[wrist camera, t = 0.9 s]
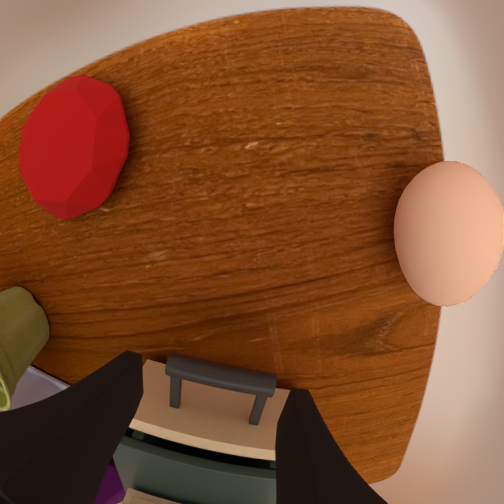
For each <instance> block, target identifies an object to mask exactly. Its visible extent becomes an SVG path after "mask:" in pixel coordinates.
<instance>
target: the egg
mask: <svg viewBox="0 0 504 504" xmlns="http://www.w3.org/2000/svg"><path fill="white" fill-rule="evenodd" d="M394 242H395V250H396V253H397V257H398V260H399V263H400V267H401V270H402V272H403V274H404V276H405V278H406V280H407V282H408V284H409V285H410V286H411V288H412V289H413V291H414V292H415V293H416V294H418V295H419V296H420V297H421V298H423V299H424V300H425V301H427V302H429V303H431V304H434V305H438V306H452V305H456V304H459V303H462V302H465V301H467V300H468V299H470V298H471V297H472V296H474V295H475V294H476V293H477V292H478V291H479V290H480V289H482V288H483V287H484V285H485V284H486V283H487V282H488V281H489V279H490V278H491V277H492V275H493V273H494V272H495V270H496V268H497V266H498V264H499V261H500V259H501V256H502V252H503V248H504V211H503V207H502V205H501V202H500V199H499V197H498V195H497V193H496V191H495V190H494V188H493V187H492V186H491V184H490V183H489V181H488V180H487V179H486V178H485V177H484V176H483V175H482V174H481V173H480V172H479V171H477V170H476V169H474V168H473V167H471V166H469V165H466V164H464V163H460V162H452V161H445V162H439V163H436V164H434V165H431V166H429V167H427V168H425V169H424V170H422V171H421V172H420V173H419V174H417V175H416V176H415V177H414V178H413V179H412V180H411V182H410V183H409V184H408V185H407V186H406V187H405V189H404V191H403V193H402V195H401V197H400V199H399V202H398V205H397V209H396V214H395V218H394Z"/></svg>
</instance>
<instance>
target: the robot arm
mask: <svg viewBox="0 0 504 504" xmlns="http://www.w3.org/2000/svg"><path fill="white" fill-rule="evenodd" d="M143 393H144V389H143V368H142V355H141V354H138V353H135V352H131V351H128V350H126V351H125V352H123V353H122V354H120V355H119V356H117V357H116V358H114V359H113V360H111V361H110V362H108V363H107V364H105V365H104V366H102V367H101V368H99V369H98V370H96V371H95V372H93V373H92V374H90V375H89V376H87V377H85V378H84V379H82V380H80V381H79V382H77V383H75V384H73V385H72V386H70V385H68V384H66V383H64V382H62V381H60V380H58V379H55V378H53V377H51V376H49V375H48V374H46V373H44V372H42V371H40V370H38V369H36V368H34V367H32V366H31V365H30V366H29V367H28V368H27V370H26V371H25V373H24V374H23V376H22V377H21V379H20V380H19V382H18V383H17V385H16V390H15V392H14V394H13V396H12V397H11V399H12V403H11V406H10V408H9V409H8V410H7V411H3V410H0V504H95V501H96V497H97V494H98V491H99V489H100V486H101V483H102V480H103V477H104V475H105V472H106V469H107V467H108V464H109V462H110V460H111V458H112V456H113V454H114V453H115V451H116V449H117V447H118V445H119V443H120V442H121V440H122V438H123V436H124V434H125V433H126V431H127V429H128V427H129V425H130V423H131V422H132V420H133V418H134V416H135V414H136V412H137V409H138V407H139V404H140V401H141V399H142V396H143ZM275 465H276V504H388V503H387V502H386V501H384V499H382V498H381V497H380V496H379V495H378V494H377V493H376V492H375V491H374V490H373V489H372V488H371V487H370V486H369V485H368V484H367V483H366V482H365V481H364V480H363V478H362V477H361V476H360V475H359V474H358V473H357V471H356V470H355V469H354V468H353V466H352V465H351V464H350V462H349V461H348V460H347V458H346V457H345V455H344V454H343V452H342V451H341V449H340V448H339V446H338V445H337V443H336V442H335V440H334V438H333V436H332V435H331V433H330V431H329V430H328V428H327V426H326V424H325V422H324V421H323V419H322V417H321V415H320V413H319V411H318V409H317V407H316V405H315V403H314V400H313V398H312V396H311V394H310V392H309V391H308V390H305V389H298V388H291V389H290V392H289V395H288V397H287V400H286V402H285V405H284V407H283V410H282V412H281V415H280V417H279V419H278V422H277V430H276V440H275Z"/></svg>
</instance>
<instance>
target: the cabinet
mask: <svg viewBox="0 0 504 504" xmlns="http://www.w3.org/2000/svg"><path fill="white" fill-rule="evenodd" d="M134 430H135V429H132V428H130V427H128V429H127V431H126V433H125V434H124V436H123V438H122V440H121V442H120V443H119V445H118V447H117V449H116V451H115V453H114V454H113V459H114V462H115V465H116V468H117V471H118V474H119V476H120V479H121V482H122V484H123V487H124V490H125V492H127V490H128V488H131V489H134V490H137V491H140V492H143V493H146V494H149V495H152V496H155V497H158V498H162V499H165V500H169V501H173V502H176V503H180V504H276V470H269V469H261V468H253V467H246V466H240V465H233V464H228V463H222V462H217V461H212V460H207V459H203V458H198V457H194V456H190V455H186V454H182V453H178V452H175V451H171V450H167V449H164V448H161V447H157V446H154V445H151V444H148V443H145V442H142V441H139V440H136V439H133V438H132V434H133V432H134Z"/></svg>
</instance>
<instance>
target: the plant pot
mask: <svg viewBox="0 0 504 504" xmlns="http://www.w3.org/2000/svg"><path fill="white" fill-rule="evenodd" d="M49 334H50V329H49V324H48V320H47V317H46V315H45V312H44V311H43V309H42V307H41V306H39V305H38V304H37V303H36V302H35V300H34V299H33V297H32V294H31V293H30V292H29V291H27V290H26V289H24V288H22V287H19V286H15V287H12V288H9V289H7V290H4V291H2V292H0V410H3V411H7V410H8V409H9V408H10V406H11V403H12V399H11V397H12V396H13V394H14V392H15V390H16V385H17V383H18V382H19V380H20V379H21V377H22V376H23V374H24V373H25V371H26V370H27V368H28V367H29V366H30V364H31V363H32V361H33V360H34V359H35V357H36V356H37V354H38V353H39V352H40V350H41V349H42V348H43V346H44V345H45V344H46V342H47V340H48V338H49Z"/></svg>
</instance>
